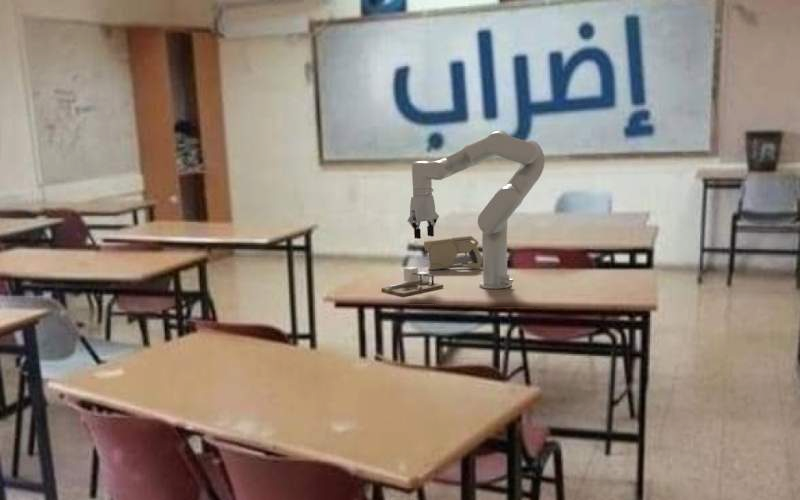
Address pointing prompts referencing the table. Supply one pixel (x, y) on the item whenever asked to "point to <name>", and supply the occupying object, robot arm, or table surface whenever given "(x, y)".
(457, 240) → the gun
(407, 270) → the sliding leg
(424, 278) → the beam
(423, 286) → the hole board
